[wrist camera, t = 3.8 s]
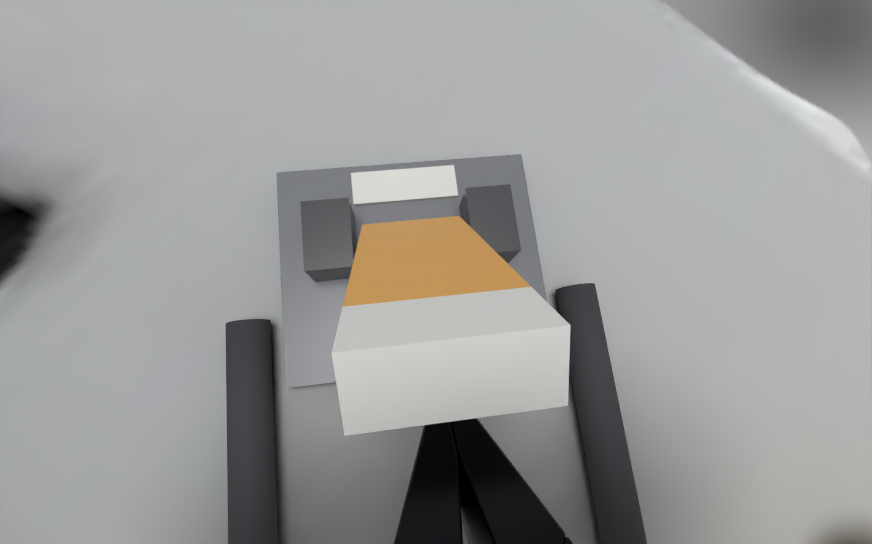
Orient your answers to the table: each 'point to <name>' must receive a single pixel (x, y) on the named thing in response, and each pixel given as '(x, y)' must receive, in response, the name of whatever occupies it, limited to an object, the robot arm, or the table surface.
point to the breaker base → (378, 203)
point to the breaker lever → (442, 332)
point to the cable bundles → (592, 390)
